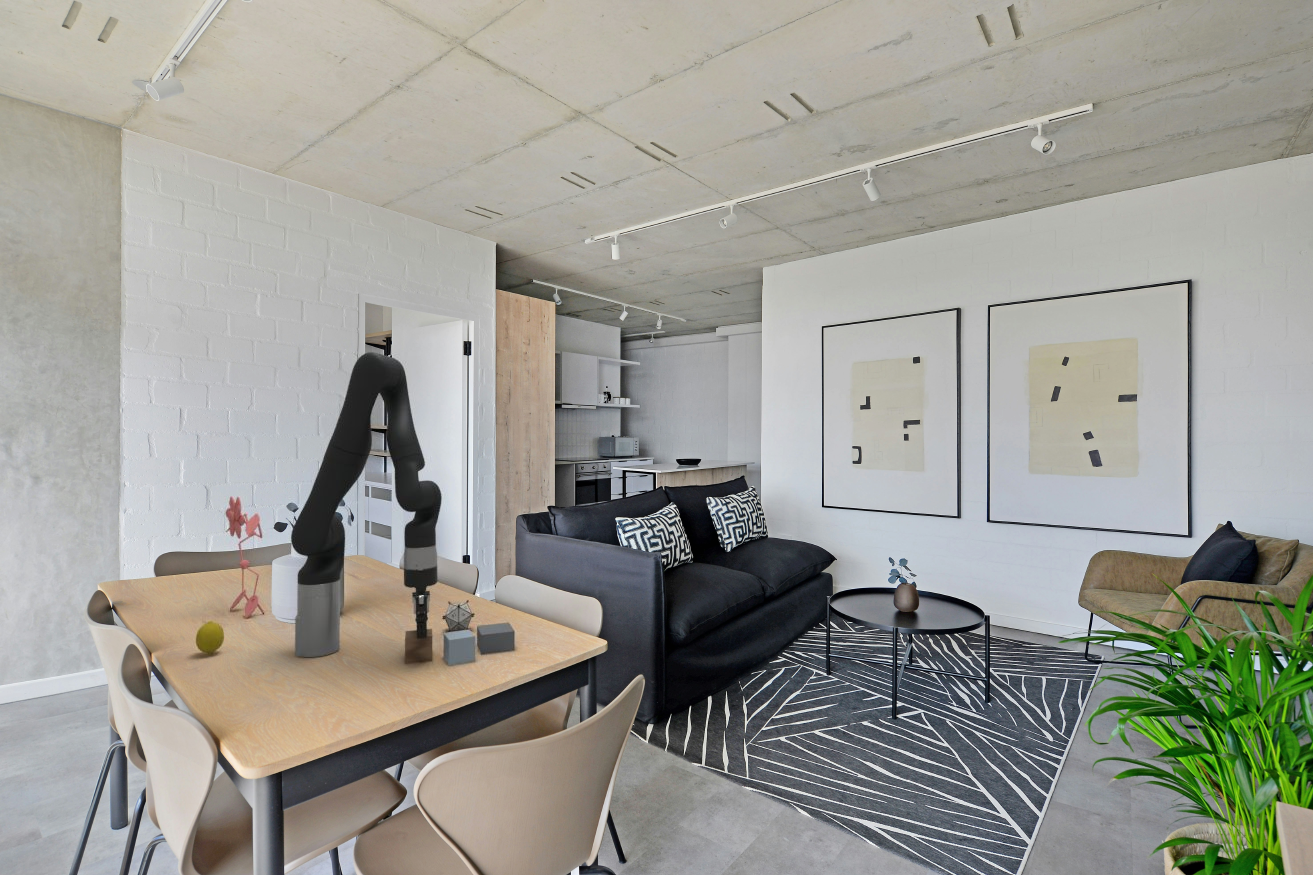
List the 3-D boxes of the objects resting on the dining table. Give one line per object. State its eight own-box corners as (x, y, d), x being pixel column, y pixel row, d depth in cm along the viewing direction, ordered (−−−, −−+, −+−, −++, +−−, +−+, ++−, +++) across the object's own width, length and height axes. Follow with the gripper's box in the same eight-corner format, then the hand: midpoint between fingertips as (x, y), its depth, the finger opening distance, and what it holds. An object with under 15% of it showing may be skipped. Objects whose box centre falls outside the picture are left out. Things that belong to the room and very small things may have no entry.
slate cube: (448, 666, 145) (449, 640, 145) (443, 658, 150) (443, 633, 150) (475, 661, 148) (475, 636, 148) (468, 653, 153) (469, 629, 153)
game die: (461, 646, 170) (462, 623, 164) (434, 633, 171) (434, 609, 165) (480, 622, 177) (482, 599, 171) (454, 609, 178) (455, 586, 173)
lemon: (193, 659, 147) (194, 625, 148) (198, 652, 152) (198, 619, 152) (222, 656, 150) (222, 622, 150) (225, 649, 155) (225, 616, 155)
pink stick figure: (247, 602, 198) (246, 491, 197) (278, 618, 181) (276, 497, 180) (188, 613, 186) (186, 495, 186) (214, 632, 169) (212, 502, 169)
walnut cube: (404, 664, 146) (405, 638, 146) (405, 655, 152) (405, 631, 152) (432, 661, 148) (432, 635, 148) (431, 653, 154) (432, 628, 154)
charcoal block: (481, 655, 153) (481, 634, 153) (476, 645, 160) (477, 625, 160) (514, 651, 156) (514, 631, 156) (508, 641, 163) (508, 622, 163)
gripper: (404, 560, 155) (405, 626, 155) (403, 572, 142) (404, 643, 142) (436, 558, 158) (437, 622, 158) (438, 569, 145) (439, 639, 145)
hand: (421, 632), depth 150 cm, fingers open, 8 cm apart
